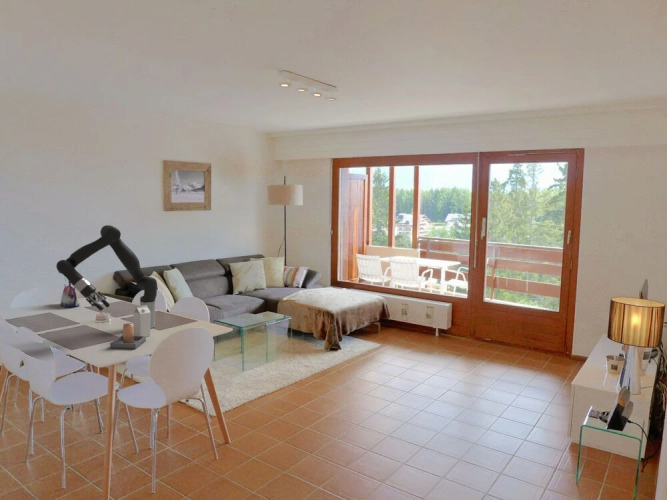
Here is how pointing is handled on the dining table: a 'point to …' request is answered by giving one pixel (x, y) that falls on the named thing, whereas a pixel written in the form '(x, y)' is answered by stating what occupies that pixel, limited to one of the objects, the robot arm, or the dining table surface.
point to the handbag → (69, 297)
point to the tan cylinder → (128, 333)
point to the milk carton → (142, 321)
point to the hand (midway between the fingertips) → (105, 308)
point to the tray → (120, 345)
